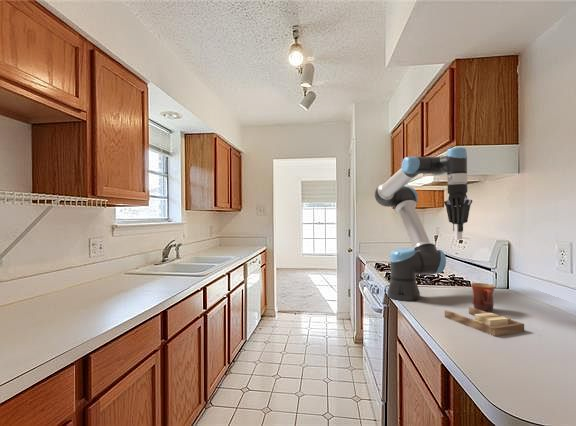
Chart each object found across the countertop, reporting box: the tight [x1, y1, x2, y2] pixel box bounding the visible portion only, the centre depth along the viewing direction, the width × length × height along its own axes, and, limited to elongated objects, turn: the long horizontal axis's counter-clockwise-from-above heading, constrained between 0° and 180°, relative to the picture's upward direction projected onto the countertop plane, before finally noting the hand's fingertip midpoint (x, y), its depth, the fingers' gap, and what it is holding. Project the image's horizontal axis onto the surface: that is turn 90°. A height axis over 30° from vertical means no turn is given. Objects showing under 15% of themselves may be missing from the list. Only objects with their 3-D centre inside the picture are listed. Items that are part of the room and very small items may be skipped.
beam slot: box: [444, 306, 525, 337], centre depth 116 cm, size 21×14×3 cm, turn 18°
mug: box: [470, 282, 496, 312], centre depth 132 cm, size 12×9×10 cm
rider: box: [474, 312, 508, 327], centre depth 113 cm, size 7×7×4 cm
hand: (458, 239), depth 136 cm, fingers closed
